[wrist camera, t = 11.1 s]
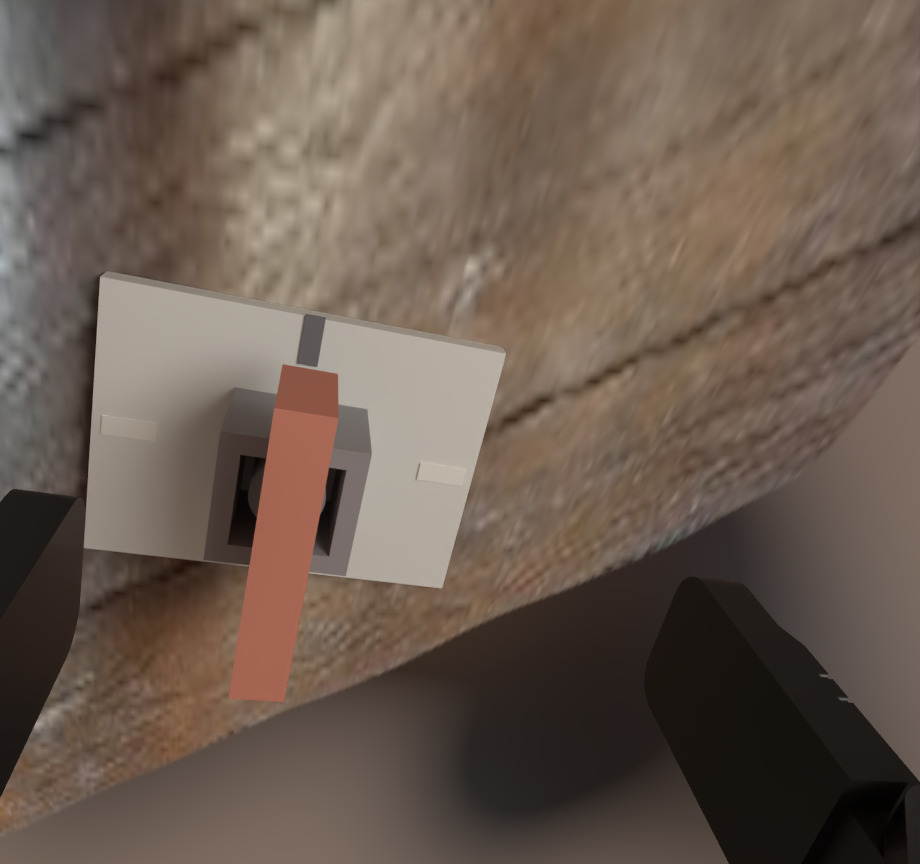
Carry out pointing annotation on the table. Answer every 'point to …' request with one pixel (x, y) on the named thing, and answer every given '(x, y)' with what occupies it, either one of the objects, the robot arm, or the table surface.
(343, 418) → the red bar with frame
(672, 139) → the table surface
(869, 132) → the table surface
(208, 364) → the lock board
